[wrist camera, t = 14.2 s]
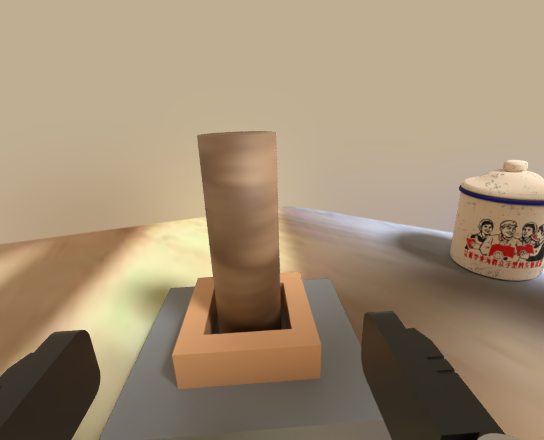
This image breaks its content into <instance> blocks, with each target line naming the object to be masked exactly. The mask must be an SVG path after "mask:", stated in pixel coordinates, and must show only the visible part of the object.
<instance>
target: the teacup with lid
mask: <svg viewBox="0 0 544 440" xmlns="http://www.w3.org/2000/svg"><path fill="white" fill-rule="evenodd" d="M527 167H528V163H527V162H526V161H520V160H507V161H505V162H504V164H503V169H499V170H494V171H491V172H488V173H486V174H484V175H482V176H479V177H472V178H468V179H466V180H464V181H463V182H462V183H461V185H460V187H459V190H460V191H461V195H460V199H459V205H458V211H457V216H456V221H455V227H454V232H453V238H452V243H451V249H450V255H451V257H452V259H453V260H454V261H455V262H456V263H457V264H459V265H460V266H462V267H464V268H466V269H468V270H470V271H472V272H475V273H478V274H481V275H484V276H488V277H492V278H497V279H503V280H513V281H522V280H530V279H534V278H536V277H538V276H539V275H540V274H541V273H542V271H543V268H544V179H543V178H542V177H541V176H539V175H537V174H535V173H533V172H530V171H526V170H527Z"/></svg>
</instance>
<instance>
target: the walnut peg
mask: <svg viewBox="0 0 544 440" xmlns="http://www.w3.org/2000/svg"><path fill="white" fill-rule="evenodd" d="M197 138H198V148H199V156H200V165H201V174H202V182H203V191H204V200H205V210H206V218H207V227H208V236H209V245H210V254H211V263H212V272H213V280H214V289H215V298H216V307H217V316H218V325H219V334H225V333H240V332H254V331H269V330H281V298H280V263H279V227H278V192H277V159H276V158H277V157H276V132H267V131H251V132H225V133H211V134H202V135H198V136H197Z"/></svg>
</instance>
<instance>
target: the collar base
mask: <svg viewBox="0 0 544 440" xmlns="http://www.w3.org/2000/svg"><path fill="white" fill-rule="evenodd" d="M280 298H281V330H269V331H254V332H240V333H225V334H219V325H218V316H217V307H216V298H215V289H214V280H213V277H206V278H198V280H197V283H196V286H195V287H182V288H171V289H170V291H169V293H168V295H167V297H166V299H165V301H164V303H163V306H162V308H161V310H160V312H159V314H158V316H157V318H156V320H155V322H154V324H153V327H152V329H151V331H150V333H149V335H148V337H147V339H146V341H145V343H144V346H143V348H142V350H141V352H140V354H139V356H138V358H137V360H136V362H135V364H134V367H133V369H132V371H131V373H130V375H129V377H128V379H127V381H126V383H125V385H124V388H123V390H122V392H121V394H120V396H119V398H118V400H117V402H116V404H115V407H114V409H113V411H112V413H111V415H110V417H109V419H108V421H107V423H106V425H105V428H104V430H103V432H102V434H101V436H100V438H99V440H392V439H391V437H390V434H389V432H388V430H387V427H386V425H385V423H384V420H383V418H382V415H381V413H380V411H379V408H378V406H377V404H376V401H375V399H374V397H373V394H372V392H371V390H370V387H369V385H368V383H367V380H366V378H365V375H364V372H363V368H362V362H361V348H362V346H361V344H360V342H359V340H358V338H357V336H356V334H355V332H354V329H353V327H352V325H351V323H350V321H349V319H348V317H347V314H346V312H345V310H344V308H343V306H342V304H341V302H340V299H339V297H338V295H337V293H336V291H335V289H334V287H333V285H332V282H331V280H330V279H314V280H302V278H301V275H300V272H290V273H280Z"/></svg>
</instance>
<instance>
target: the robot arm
mask: <svg viewBox="0 0 544 440" xmlns="http://www.w3.org/2000/svg"><path fill="white" fill-rule="evenodd" d="M361 362H362V368H363V372H364V375H365V378H366V380H367V383H368V385H369V387H370V390H371V392H372V394H373V397H374V399H375V401H376V404H377V406H378V408H379V411H380V413H381V415H382V418H383V420H384V423H385V425H386V427H387V430H388V432H389V434H390V437H391V439H392V440H519V439H517V438H514V437H511V436H508V435H506V434H505V433H504V432H503V431H502V430H501V428H500V427H499V426H498V424H497V423H496V422H495V421H494V419H493V418H492V417H491V416H490V414H489V413H488V412H487V411H486V409H485V408H484V407H483V405H482V404H481V403H480V402H479V400H478V399H477V398H476V397H475V395H474V394H473V393H472V392H471V390H470V389H469V388H468V386H467V385H466V384H465V383H464V381H463V380H462V379H461V378H460V376H459V375H458V374H457V373H455V372H454V369H453V367H452V366H451V365H450V364H449V362H448V361H447V360H446V359H444V356H443V355H442V353H441V352H440V351H439V350H438V348H437V347H436V346H435V345H434V343H433V342H432V341H431V340H430V339H428V338H427V337H426V336H424V335H423V334H422V333H420V332H419V331H417V330H416V329H415V328H408V329H406V328H405V327H404V325H403V324H402V322H401V321H400V320H399V318H398V317H397V315H396V314H395V313H394V312H393V311H384V312H369V313H366V314H365V316H364V324H363V336H362V348H361ZM99 385H100V370H99V366H98V363H97V359H96V356H95V352H94V349H93V345H92V342H91V339H90V335H89V333H88V332H87V331H85V330H76V331H61V332H54V333H52V334H51V335H50V336H49V337H48V338H47V339H46V340H45V341H44V342H43V343H42V344H41V345H40V346H39V348H38V349H37V350H36V351H35V352H34V353H30V354H29V355H27V356H26V357H24V358H23V359H21V360H20V361H18V362H17V363H16V364H14V365H13V366H11V367H10V368H8V369H7V370H6V371H5V372H4V373H3V375H2V376H1V377H0V440H71V439H72V437H73V436H74V434H75V432H76V430H77V428H78V427H79V425H80V423H81V421H82V420H83V418H84V416H85V414H86V412H87V411H88V409H89V407H90V405H91V404H92V402H93V400H94V398H95V396H96V394H97V392H98V389H99Z"/></svg>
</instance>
